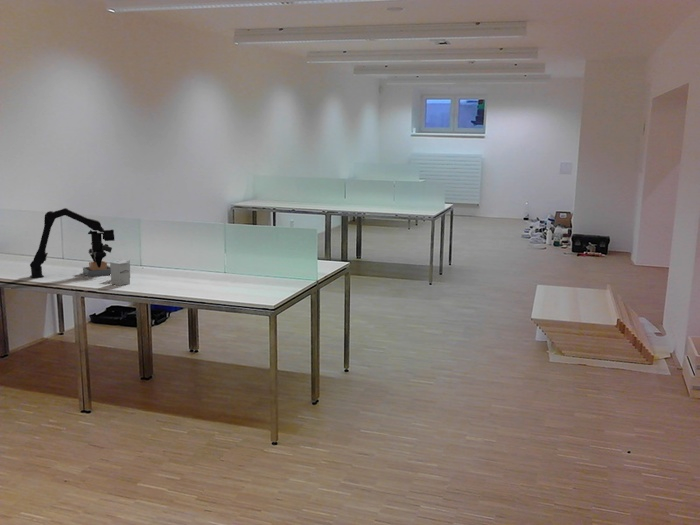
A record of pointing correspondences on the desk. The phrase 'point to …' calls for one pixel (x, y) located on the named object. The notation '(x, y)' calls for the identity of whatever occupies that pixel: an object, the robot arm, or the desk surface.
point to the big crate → (96, 272)
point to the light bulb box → (122, 260)
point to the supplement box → (120, 273)
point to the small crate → (94, 266)
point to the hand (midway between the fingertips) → (98, 266)
